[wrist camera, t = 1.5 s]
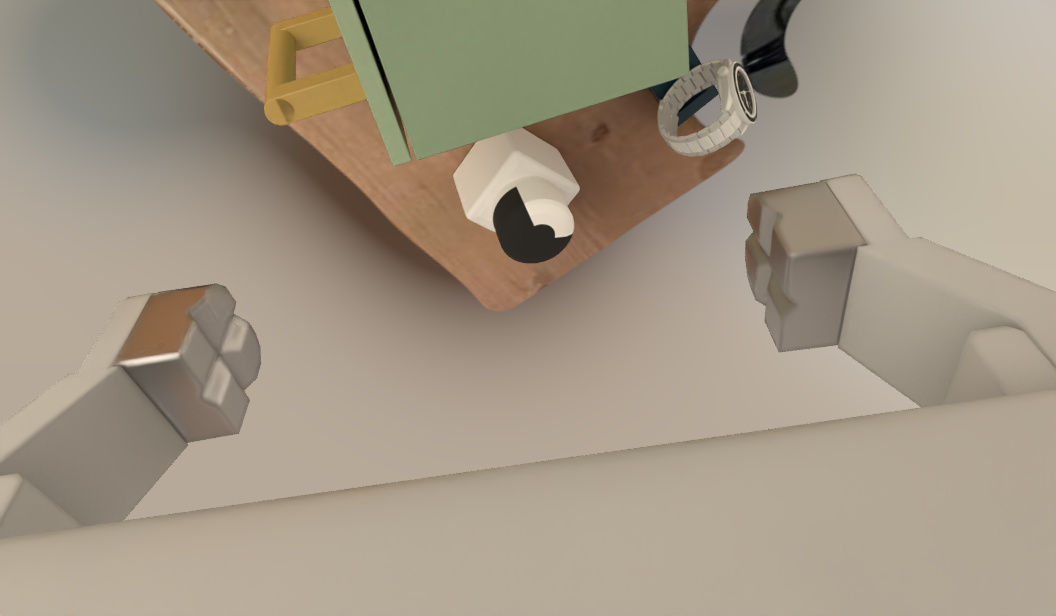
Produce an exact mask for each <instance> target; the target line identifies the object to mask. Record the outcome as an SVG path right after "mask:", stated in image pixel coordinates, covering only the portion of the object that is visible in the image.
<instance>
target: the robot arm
mask: <svg viewBox="0 0 1056 616" xmlns="http://www.w3.org/2000/svg"><path fill="white" fill-rule="evenodd" d="M747 218H748V220H749V223H750V225H751V227H752V229H753V233H752V234H751V235H750V236H749V238H748V239H747V240H746V248H745V249H746V250H745V261H746V269H747V276H748V280H749V283H750V287H751V290H752V292H753V294H754V297H755V299H756V301H758V302H760V303H762V304H763V305H765V306H766V311H765V323H766V325H767V327H768V329H769V331H770V334H771V336H772V338H773V340H774V343H775V345H776V347H777V349H778V352H786V351H793V350H802V349H810V348H818V347H826V346H833V345H838V348H839V349H841V350H842V351H844V352H845V353H846V354H848V355H849V356H851V357H852V358H853V359H855V360H856V361H858V362H859V363H860V364H862V365H863V366H865V367H866V368H867V369H869V370H870V371H871V372H873V373H874V374H876V375H877V376H878V377H880V378H881V379H883V380H884V381H885V382H887V383H888V384H890V385H891V386H892V387H894V388H895V389H896V390H898V391H899V392H901V393H902V394H904V395H905V396H906V397H908V398H909V399H911V400H912V401H913V402H915V403H916V404H917V405H919V406H920V407H921V408H916V409H908V410H901V411H894V412H887V413H880V414H873V415H866V416H859V417H852V418H845V419H839V420H831V421H824V422H817V423H811V424H804V425H797V426H789V427H782V428H775V429H768V430H762V431H755V432H748V433H741V434H734V435H727V436H719V437H712V438H705V439H699V440H691V441H684V442H677V443H670V444H662V445H655V446H648V447H641V448H634V449H627V450H620V451H613V452H605V453H598V454H592V455H585V456H577V457H569V458H562V459H556V460H548V461H541V462H534V463H527V464H520V465H513V466H506V467H499V468H492V469H485V470H477V471H471V472H463V473H457V474H449V475H442V476H436V477H428V478H421V479H415V480H408V481H401V482H394V483H386V484H379V485H372V486H366V487H359V488H351V489H345V490H337V491H331V492H323V493H316V494H309V495H302V496H295V497H288V498H281V499H274V500H267V501H259V502H253V503H245V504H238V505H231V506H224V507H217V508H211V509H203V510H196V511H190V512H182V513H175V514H168V515H161V516H154V517H147V518H140V519H133V520H126V521H123V520H124V519H125V518H126V517H127V516H128V514H129V513H130V512H131V511H132V510H133V509H134V508H135V506H136V505H137V504H138V503H139V502H140V501H141V499H142V498H143V497H144V496H145V495H146V494H147V492H148V491H149V490H150V489H151V488H152V487H153V485H154V484H155V483H156V482H157V481H158V480H159V478H160V477H161V476H162V475H163V474H164V473H165V471H166V470H167V469H168V468H169V467H170V466H171V465H172V463H173V462H174V461H175V460H176V459H177V458H178V456H179V455H180V454H181V453H182V452H183V451H184V449H185V448H186V447H187V446H188V444H187V443H188V442H194V441H199V440H205V439H210V438H216V437H222V436H228V435H233V434H239V432H240V429H241V426H242V423H243V419H244V416H245V413H246V410H247V407H248V404H249V401H250V400H249V398H248V396H247V395H246V393H245V391H244V390H245V389H246V388H247V387H248V386H249V385H250V384H251V383H252V382H253V381H255V380H256V378H257V376H258V372H259V369H260V365H261V354H260V345H259V342H258V339H257V336H256V333H255V331H254V330H253V328H252V326H251V325H250V323H249V322H247V321H245V320H244V319H242V318H240V317H238V316H236V315H235V314H233V313H234V309H235V305H236V301H235V299H234V298H233V297H232V295H231V294H230V292H229V291H228V289H227V288H226V287H225V286H222V285H219V284H210V285H204V286H197V287H190V288H183V289H176V290H170V291H163V292H158V293H150V294H144V295H138V296H132V297H128V298H126V299H124V300H122V301H120V302H119V303H118V305H117V306H116V308H115V310H114V311H113V313H112V315H111V317H110V318H109V320H108V322H107V323H106V325H105V327H104V329H103V330H102V332H101V334H100V335H99V337H98V339H97V340H96V342H95V344H94V346H93V347H92V349H91V351H90V352H89V354H88V356H87V358H86V359H85V361H84V363H83V365H82V366H81V368H80V369H79V371H78V372H77V373H71V374H68V375H66V376H65V377H64V378H62V379H61V380H60V381H58V382H57V383H56V384H54V385H53V386H52V387H51V388H49V389H48V390H46V391H45V392H44V393H42V394H41V395H40V396H38V397H37V398H36V399H34V400H33V401H32V402H30V403H29V404H28V405H26V406H25V407H24V408H23V409H21V410H20V411H18V412H17V413H16V414H15V415H13V416H12V417H11V418H9V419H8V420H7V421H5V422H4V423H3V424H1V425H0V616H1056V292H1055V291H1052V290H1050V289H1047V288H1045V287H1043V286H1040V285H1038V284H1035V283H1033V282H1030V281H1028V280H1025V279H1023V278H1020V277H1018V276H1016V275H1013V274H1010V273H1008V272H1006V271H1003V270H1001V269H998V268H996V267H993V266H991V265H988V264H986V263H983V262H981V261H979V260H976V259H974V258H971V257H969V256H966V255H964V254H961V253H959V252H956V251H954V250H951V249H949V248H946V247H944V246H941V245H939V244H936V243H934V242H932V241H929V240H927V239H924V238H922V237H917V238H909V237H908V236H907V235H906V233H905V232H904V231H903V229H902V228H901V227H900V226H899V224H898V223H897V222H896V220H895V219H894V218H893V217H892V215H891V214H890V213H889V211H888V210H887V209H886V208H885V206H884V205H883V203H882V202H881V201H880V200H879V198H878V197H877V196H876V194H875V193H874V192H873V191H872V189H871V188H870V187H869V185H868V184H867V183H866V181H865V180H864V179H863V178H862V176H860V175H857V174H851V175H846V176H841V177H836V178H831V179H826V180H821V181H820V182H816V183H810V184H805V185H799V186H793V187H788V188H782V189H776V190H770V191H765V192H759V193H753V194H750V197H749V201H748V209H747Z"/></svg>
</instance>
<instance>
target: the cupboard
mask: <svg viewBox="0 0 1056 616" xmlns="http://www.w3.org/2000/svg"><path fill="white" fill-rule="evenodd" d="M359 2H360V5H361V8H362V11H363V13H364V16H365V19H366V22H367V24H368V27H369V30H370V33H371V35H372V38H373V41H374V44H375V46H376V49H377V52H378V55H379V57H380V60H381V63H382V66H383V68H384V71H385V74H386V77H387V79H388V82H389V85H390V88H391V91H392V93H393V96H394V99H395V102H396V104H397V107H398V110H399V113H400V115H401V118H402V121H403V124H404V126H405V129H406V132H407V135H408V137H409V140H410V143H411V146H412V148H413V151H414V154H415V157H416V159H417V160H420V159H423V158H427V157H430V156H433V155H436V154H439V153H442V152H446V151H449V150H452V149H455V148H458V147H461V146H465V145H468V144H471V143H474V142H477V141H480V140H484V139H487V138H490V137H493V136H496V135H500V134H503V133H506V132H509V131H512V130H515V129H519V128H522V127H525V126H528V125H531V124H534V123H538V122H541V121H544V120H547V119H550V118H553V117H557V116H560V115H563V114H566V113H569V112H572V111H576V110H579V109H582V108H585V107H588V106H591V105H595V104H598V103H601V102H604V101H607V100H610V99H614V98H617V97H620V96H623V95H626V94H630V93H633V92H636V91H639V90H642V89H645V88H649V87H652V86H655V85H658V84H661V83H664V82H668V81H671V80H674V79H677V78H680V77H683V76H687V75H689V50H688V25H687V1H686V0H359Z"/></svg>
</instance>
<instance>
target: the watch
mask: <svg viewBox="0 0 1056 616" xmlns="http://www.w3.org/2000/svg"><path fill="white" fill-rule="evenodd" d="M688 50H689V75H687V76H683V77H680V78H677V79H674V80H671V81H668V82H664V83H661V84H658V85H655V86H652V87H649V88H648V89H649V90H650V92H651V93H652V94H653V96H654V97H655V99H656V100H657V102H658V103H659V107H658V113H657V124H658V129H659V132H660V134H661V135H662V137H663V139H664V140H665V141H666V143H667V144H668V145H669V147H670V148H673V150H675V152H677V153H678V154H680V155H684V156H698V155H699V156H701V155H706V154H709V152H710V153H711V152H714V151H716V150H718V149H720V147H721V148H722V147H724V146H725V145H727V144H728V143H730V142H731V140H733V139H735V138H736V137H738V136H741V135H742V134H743V133H744V132H745V130H746V129H747V128H748V126H749V125H750V124H753V123H755V122H756V119H757V105H756V100H755V95H754V91H753V88H752V85H751V82H750V80H749V77H748V75H747V73H746V71H745V70H744V68H743V67H742V65H741V64H740V63H739V62H733V63H732V61H730V59H725V60H714V61H712V62H711V61H709V62H706V63H703V64H701V63H700V61H699V59H698V58H697V56H696V54H695V53H694V51H693V49H692V48H691V46H690V45H689V44H688ZM716 84H718V91H717V89H716V88H715V86H714V85H716ZM718 92H719V93H718ZM718 94H719V96H720V100H721V107H720V110H721V112H722V113H723V114H722V115H721V116H720V117H719V119H718V121H717V120H716V121H715V122H713V123H712V124H711V125H709V126H708V128H707V127H706V128H704V129H702V130H700V131H699V132H698V134H697V133H693V134H690V135H688V136H680V137H677V126H679V125H680V124H682V123H683V122H684V121H685V120H687V119H688V118H689V117H690V116H692V115H693V114H694V113H696V112H697V111H698V110H699V109H700V108H702V107H703V106H704V105H706V104H707V103H708V102H709V101H711V100H712V99H713V98H714V97H716V96H717V95H718ZM719 122H720V123H719ZM719 129H720V130H719ZM709 130H710V131H709ZM721 132H722V133H721ZM729 138H730V139H729ZM711 140H712V141H711ZM713 143H714V144H713ZM718 144H719V145H718Z"/></svg>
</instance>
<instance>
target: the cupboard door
mask: <svg viewBox="0 0 1056 616" xmlns="http://www.w3.org/2000/svg"><path fill="white" fill-rule="evenodd" d="M328 1H329V4H330V7H327V8H324V9H320V10H317V11H314V12H310V13H307V14H304V15H301V16H297V17H294V18H291V19H287V20H284V21H281V22H277V23H275V24H274V25H273V26H272V27H271V30H270V41H269V54H268V67H267V80H266V93H265V106H264V112H265V115H266V117H267V118H268V120H269V121H271V122H272V123H274V124H276V125H287V124H289V123H293V122H296V121H299V120H302V119H306V118H309V117H312V116H315V115H318V114H322V113H325V112H328V111H331V110H335V109H338V108H341V107H344V106H347V105H351V104H354V103H357V102H360V101H364V100H367V101H368V103H369V106H370V108H371V111H372V113H373V116H374V118H375V121H376V123H377V126H378V129H379V131H380V134H381V136H382V139H383V141H384V144H385V146H386V149H387V151H388V154H389V157H390V159H391V162H392V164H393V166H397V165H400V164H403V163H406V162H409V161H411V156H410V152H409V148H408V144H407V140H406V136H405V132H404V128H403V124H402V120H401V116H400V113H399V110H398V107H397V104H396V102H395V99H394V96H393V93H392V91H391V88H390V85H389V82H388V79H387V77H386V74H385V71H384V68H383V66H382V63H381V60H380V57H379V55H378V52H377V49H376V46H375V44H374V41H373V38H372V35H371V33H370V30H369V27H368V24H367V22H366V19H365V16H364V13H363V11H362V8H361V5H360V2H359V0H328ZM341 37H343V39H344V42H345V45H346V47H347V50H348V52H349V55H350V57H351V60H352V62H353V63H350V64H347V65H343V66H340V67H337V68H334V69H330V70H327V71H324V72H321V73H317V74H314V75H311V76H307V77H304V78H301V79H298V80H296V51H299V50H302V49H305V48H308V47H312V46H315V45H318V44H321V43H325V42H328V41H331V40H335V39H338V38H341Z"/></svg>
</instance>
